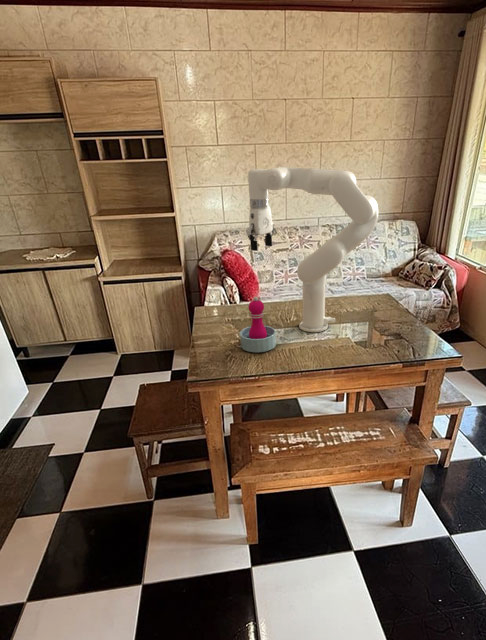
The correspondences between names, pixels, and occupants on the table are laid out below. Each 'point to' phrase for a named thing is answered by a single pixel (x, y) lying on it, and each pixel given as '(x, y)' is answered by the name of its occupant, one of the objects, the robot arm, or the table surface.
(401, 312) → the table surface
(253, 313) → the pepper mill
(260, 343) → the bowl
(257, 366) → the table surface
